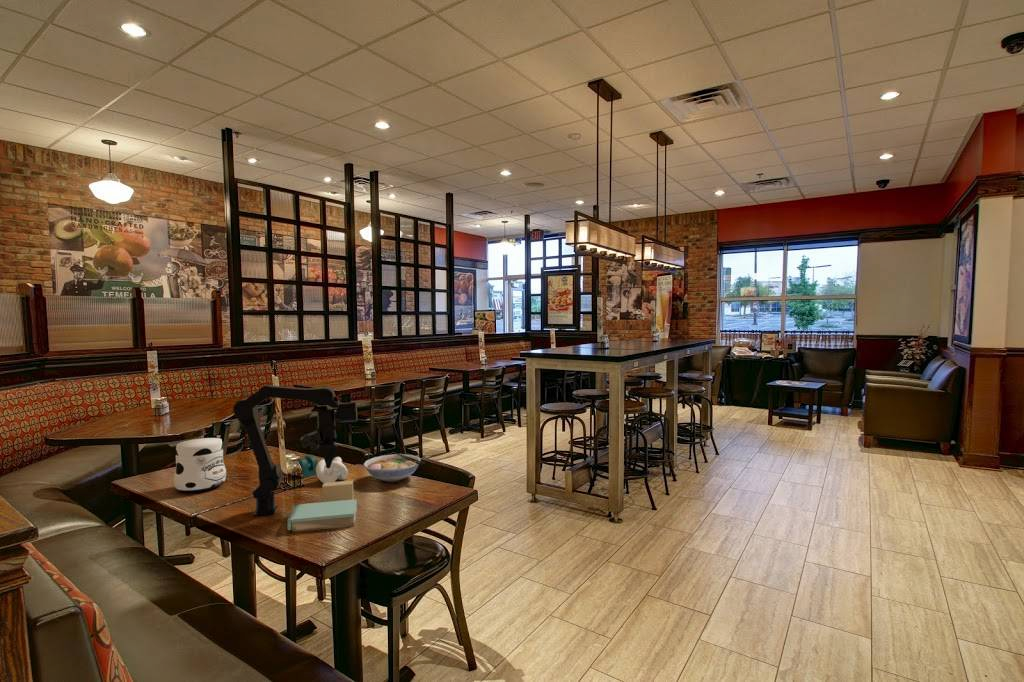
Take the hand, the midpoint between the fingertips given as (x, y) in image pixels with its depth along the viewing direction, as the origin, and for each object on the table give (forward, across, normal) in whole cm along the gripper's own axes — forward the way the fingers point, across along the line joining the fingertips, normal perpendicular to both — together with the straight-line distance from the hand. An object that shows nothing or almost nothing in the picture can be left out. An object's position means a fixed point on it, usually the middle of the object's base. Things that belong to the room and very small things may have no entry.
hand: (328, 467), depth 169 cm
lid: (+13, +14, -2) cm, 19 cm away
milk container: (+13, -39, -47) cm, 63 cm away
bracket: (+14, -47, -13) cm, 50 cm away
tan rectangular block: (+14, -2, +3) cm, 14 cm away
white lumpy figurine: (+14, -30, +1) cm, 33 cm away
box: (+14, +14, -1) cm, 19 cm away
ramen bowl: (+14, -22, +24) cm, 36 cm away
